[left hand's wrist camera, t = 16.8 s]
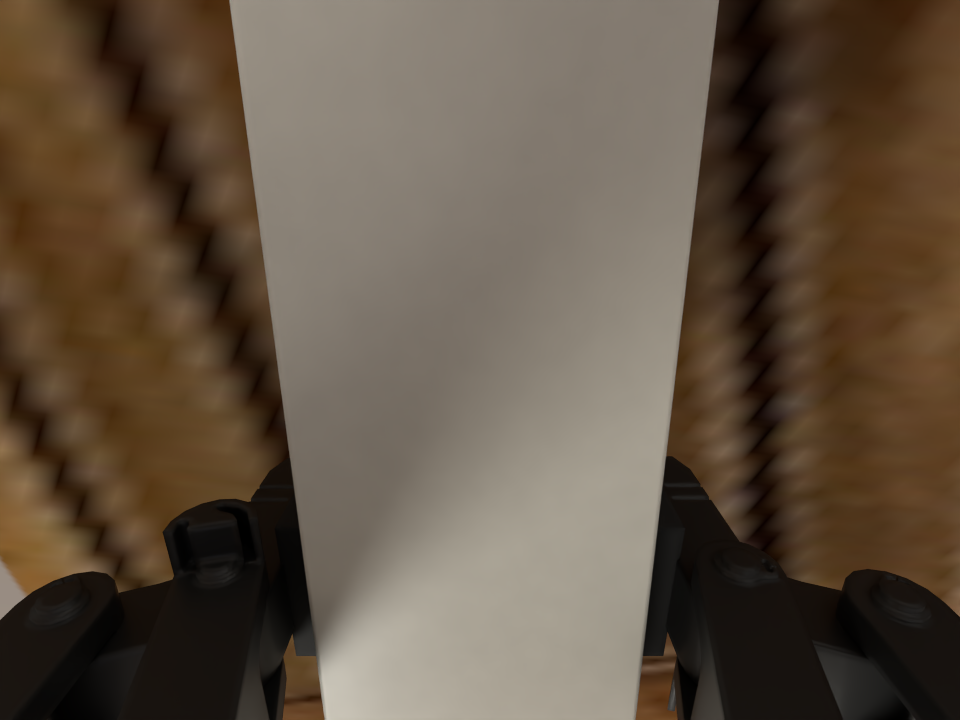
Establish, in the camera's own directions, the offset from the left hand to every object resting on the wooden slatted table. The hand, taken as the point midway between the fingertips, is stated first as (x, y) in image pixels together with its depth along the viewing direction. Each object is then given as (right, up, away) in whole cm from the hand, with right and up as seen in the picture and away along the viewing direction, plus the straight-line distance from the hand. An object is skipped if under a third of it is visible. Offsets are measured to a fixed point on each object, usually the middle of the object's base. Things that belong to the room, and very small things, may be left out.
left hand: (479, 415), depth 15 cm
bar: (0, +8, -2) cm, 9 cm away
